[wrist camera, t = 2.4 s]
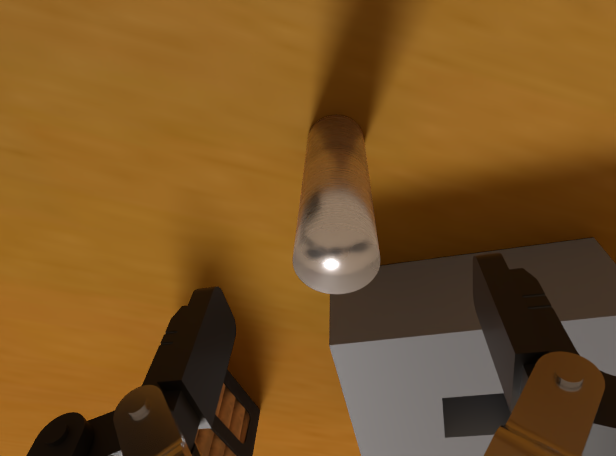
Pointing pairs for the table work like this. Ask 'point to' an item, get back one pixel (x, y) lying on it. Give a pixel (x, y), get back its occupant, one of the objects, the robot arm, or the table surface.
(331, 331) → the socket block
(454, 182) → the table surface
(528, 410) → the robot arm
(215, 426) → the ammunition clip
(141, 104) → the table surface
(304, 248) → the metal pin
